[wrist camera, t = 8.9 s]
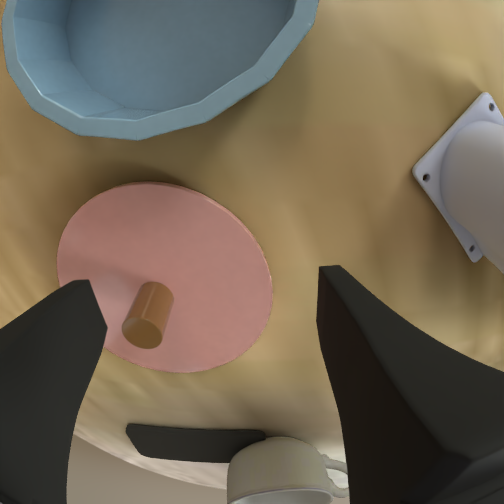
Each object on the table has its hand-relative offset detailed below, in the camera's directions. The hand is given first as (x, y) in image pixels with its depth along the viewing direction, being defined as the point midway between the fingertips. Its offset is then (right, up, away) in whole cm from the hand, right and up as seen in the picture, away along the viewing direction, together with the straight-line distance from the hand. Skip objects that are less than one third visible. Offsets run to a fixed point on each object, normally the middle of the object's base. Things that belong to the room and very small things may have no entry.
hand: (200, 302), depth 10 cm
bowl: (-3, +14, +3) cm, 15 cm away
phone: (-5, -20, +21) cm, 29 cm away
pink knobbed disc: (-5, -1, +10) cm, 11 cm away
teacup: (+5, -20, +21) cm, 30 cm away
